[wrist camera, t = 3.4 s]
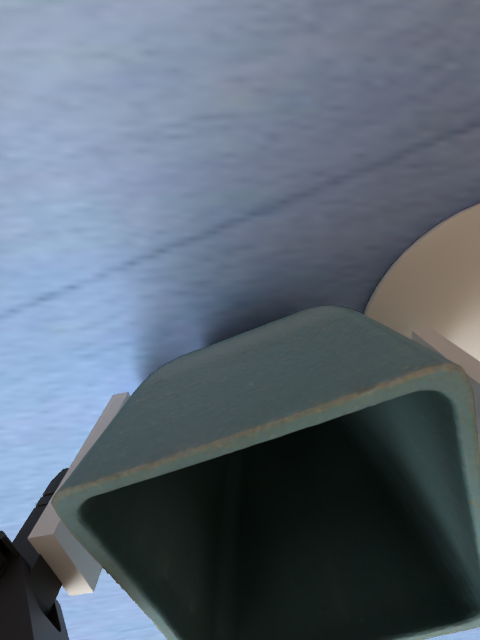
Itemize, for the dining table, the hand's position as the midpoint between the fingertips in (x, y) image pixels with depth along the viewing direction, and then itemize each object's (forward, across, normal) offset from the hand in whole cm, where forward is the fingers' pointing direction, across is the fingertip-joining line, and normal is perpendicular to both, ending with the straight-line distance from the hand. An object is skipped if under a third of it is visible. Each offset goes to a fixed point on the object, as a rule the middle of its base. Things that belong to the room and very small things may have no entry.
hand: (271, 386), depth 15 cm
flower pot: (+2, 0, 0) cm, 2 cm away
